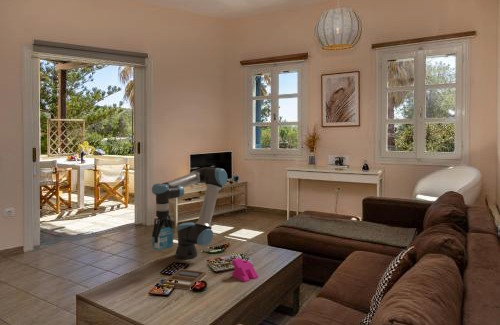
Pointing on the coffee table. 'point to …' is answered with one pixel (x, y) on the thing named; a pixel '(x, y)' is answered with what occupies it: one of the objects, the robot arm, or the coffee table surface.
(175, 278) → the slot board
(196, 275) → the rubber bar
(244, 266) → the pink plastic figure
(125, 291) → the coffee table surface
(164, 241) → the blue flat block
